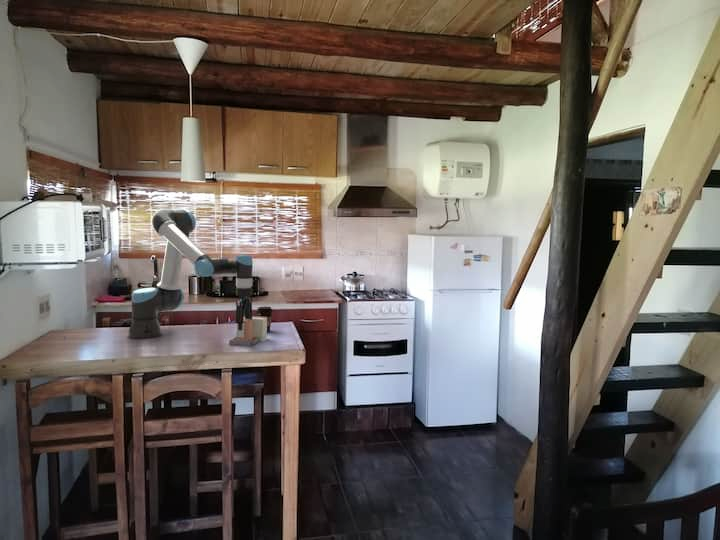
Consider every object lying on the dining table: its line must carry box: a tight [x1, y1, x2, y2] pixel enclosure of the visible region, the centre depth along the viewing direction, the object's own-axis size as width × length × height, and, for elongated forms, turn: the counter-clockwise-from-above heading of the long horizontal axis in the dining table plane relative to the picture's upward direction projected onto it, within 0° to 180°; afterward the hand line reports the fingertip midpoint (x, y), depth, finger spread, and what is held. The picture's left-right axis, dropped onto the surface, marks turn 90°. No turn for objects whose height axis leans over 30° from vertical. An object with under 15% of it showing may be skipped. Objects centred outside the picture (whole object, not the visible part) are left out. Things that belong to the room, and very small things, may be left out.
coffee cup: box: [256, 306, 274, 333], centre depth 256 cm, size 9×8×13 cm
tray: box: [229, 336, 260, 347], centre depth 230 cm, size 11×9×2 cm
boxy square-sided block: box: [244, 315, 268, 343], centre depth 238 cm, size 12×6×11 cm, turn 81°
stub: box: [236, 319, 253, 341], centre depth 229 cm, size 6×5×11 cm
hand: (244, 335), depth 228 cm, fingers open, 7 cm apart
